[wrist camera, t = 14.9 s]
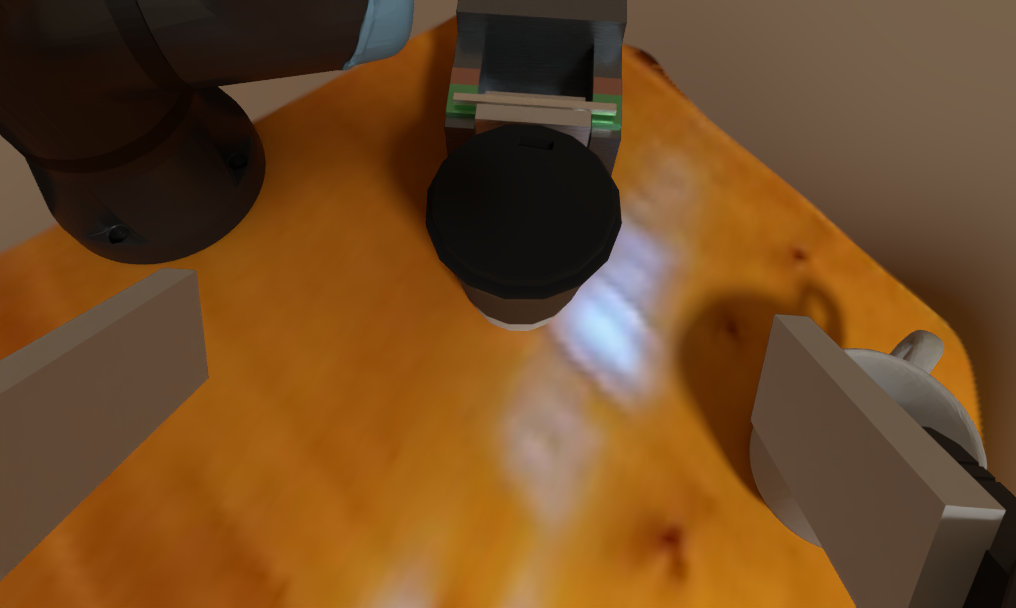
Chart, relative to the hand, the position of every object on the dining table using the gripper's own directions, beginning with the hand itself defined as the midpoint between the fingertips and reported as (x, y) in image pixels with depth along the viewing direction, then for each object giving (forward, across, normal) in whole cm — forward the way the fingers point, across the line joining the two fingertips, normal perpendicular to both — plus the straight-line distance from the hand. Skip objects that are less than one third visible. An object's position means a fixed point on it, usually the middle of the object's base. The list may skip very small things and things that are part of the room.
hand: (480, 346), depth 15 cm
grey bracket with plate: (+36, +1, -1) cm, 36 cm away
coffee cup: (+30, +1, -10) cm, 31 cm away
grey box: (+40, +1, +1) cm, 40 cm away
